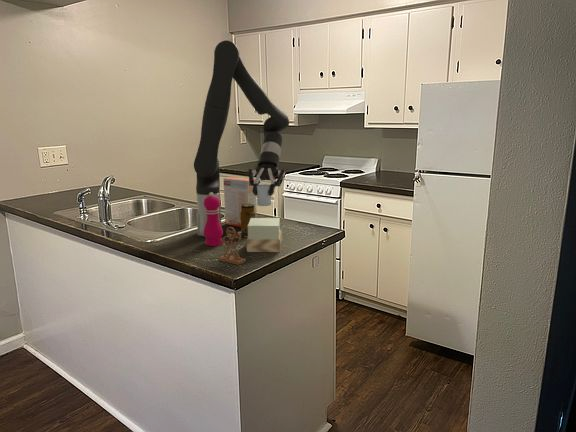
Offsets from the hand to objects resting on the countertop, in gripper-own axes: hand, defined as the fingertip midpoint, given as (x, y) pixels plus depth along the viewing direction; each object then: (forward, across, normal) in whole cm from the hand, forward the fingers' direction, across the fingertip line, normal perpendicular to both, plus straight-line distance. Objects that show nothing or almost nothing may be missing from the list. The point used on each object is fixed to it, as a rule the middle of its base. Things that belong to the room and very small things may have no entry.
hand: (262, 194), depth 156 cm
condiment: (+2, -11, +27) cm, 29 cm away
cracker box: (-6, -18, +35) cm, 40 cm away
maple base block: (+13, 0, +16) cm, 21 cm away
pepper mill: (+13, -20, +16) cm, 29 cm away
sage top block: (+10, 0, +12) cm, 16 cm away
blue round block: (+2, 0, +4) cm, 5 cm away
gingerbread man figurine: (+25, -7, +4) cm, 26 cm away
